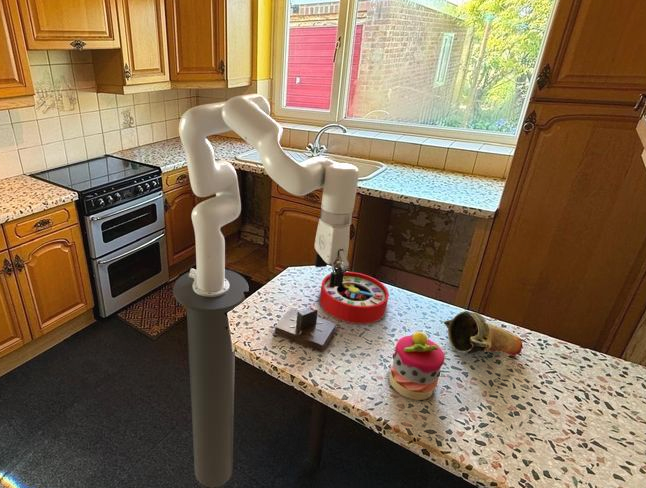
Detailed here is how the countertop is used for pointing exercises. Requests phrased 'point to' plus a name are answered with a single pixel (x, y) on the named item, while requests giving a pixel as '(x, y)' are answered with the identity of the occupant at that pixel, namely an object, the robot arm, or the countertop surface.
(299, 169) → the robot arm
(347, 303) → the toy clock
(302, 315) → the dial
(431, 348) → the cake
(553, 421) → the countertop surface
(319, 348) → the panel
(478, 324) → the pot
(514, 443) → the countertop surface
